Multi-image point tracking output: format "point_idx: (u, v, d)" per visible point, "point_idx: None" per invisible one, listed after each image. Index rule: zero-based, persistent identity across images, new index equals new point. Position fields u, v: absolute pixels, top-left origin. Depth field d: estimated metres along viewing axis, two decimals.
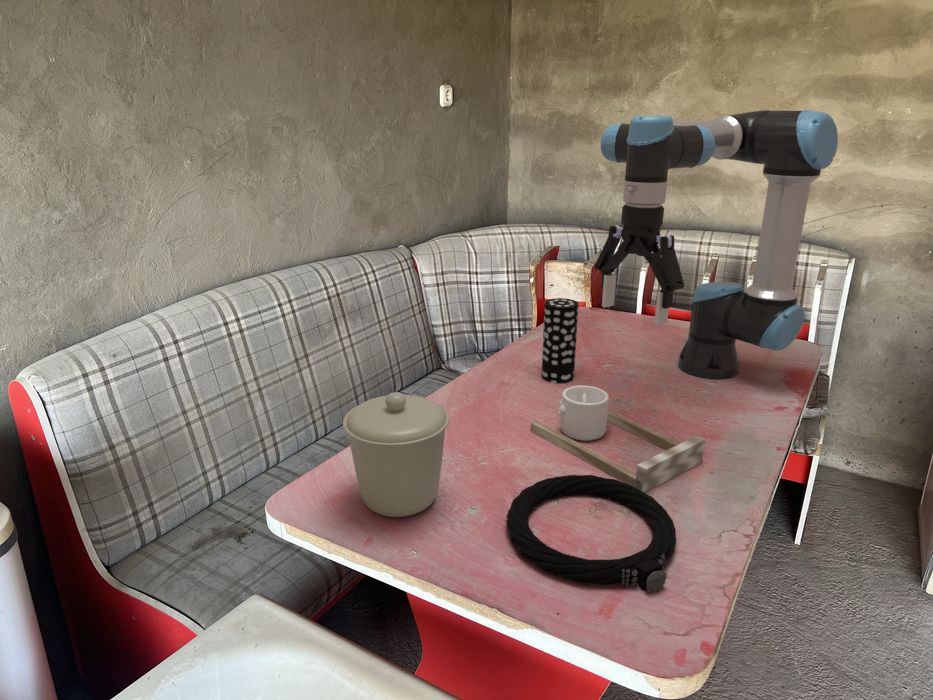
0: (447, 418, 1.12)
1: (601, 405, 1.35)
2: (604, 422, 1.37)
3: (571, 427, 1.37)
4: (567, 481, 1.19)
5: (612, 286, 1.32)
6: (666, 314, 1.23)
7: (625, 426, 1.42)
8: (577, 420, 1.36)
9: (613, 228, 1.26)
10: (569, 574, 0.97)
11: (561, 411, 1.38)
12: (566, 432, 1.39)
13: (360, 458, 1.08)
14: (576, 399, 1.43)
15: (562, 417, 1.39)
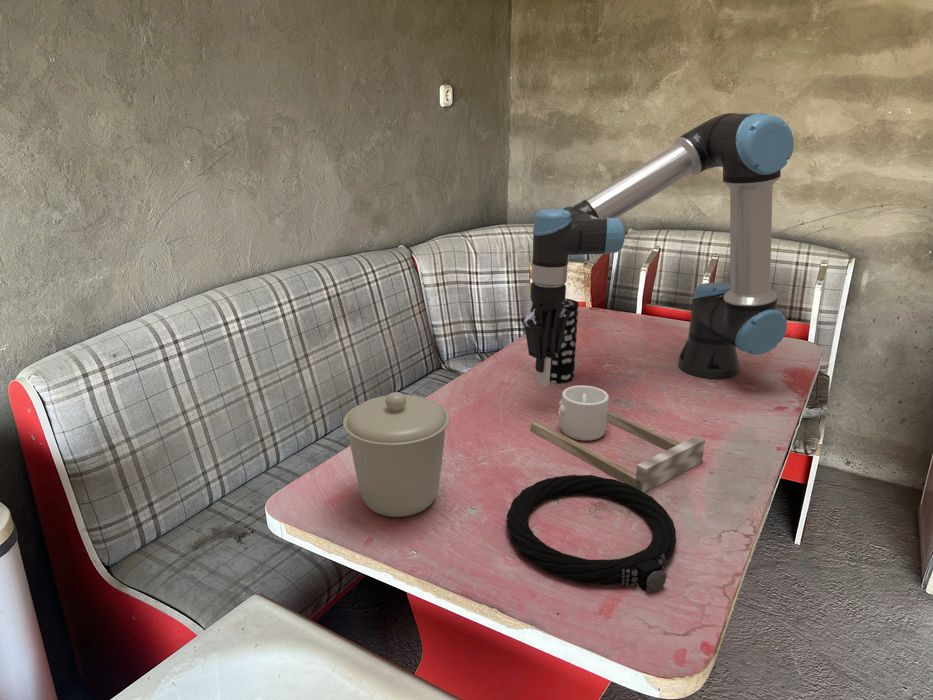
0: (447, 418, 1.12)
1: (601, 405, 1.35)
2: (604, 422, 1.37)
3: (571, 427, 1.37)
4: (567, 481, 1.19)
5: None
6: (543, 378, 1.48)
7: (625, 426, 1.42)
8: (577, 420, 1.36)
9: None
10: (569, 574, 0.97)
11: (561, 411, 1.38)
12: (566, 432, 1.39)
13: (360, 458, 1.08)
14: (576, 399, 1.43)
15: (562, 417, 1.39)
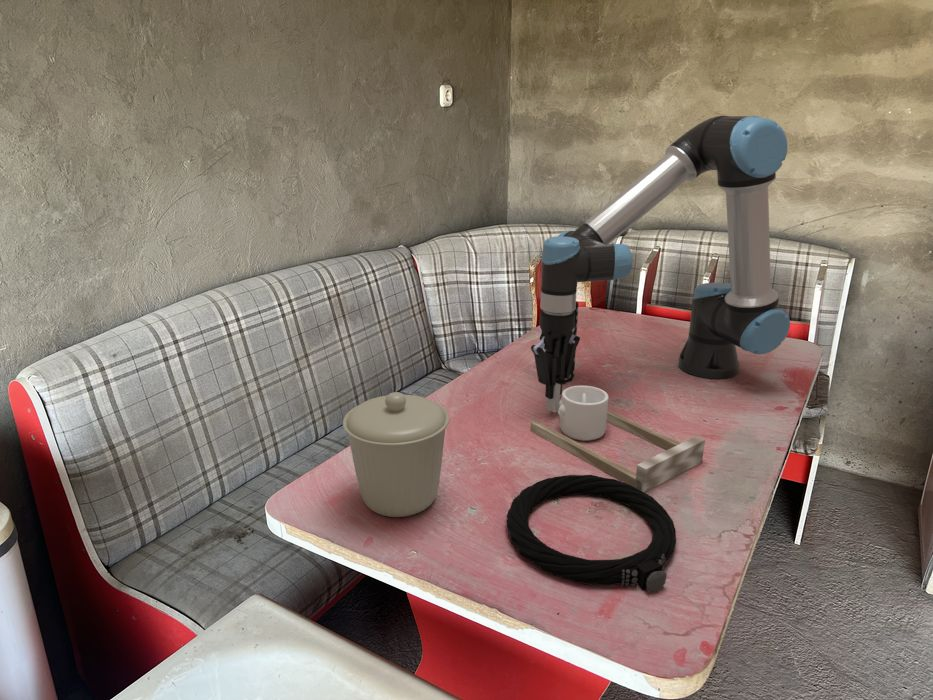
0: (447, 418, 1.12)
1: (601, 405, 1.35)
2: (604, 422, 1.37)
3: (571, 427, 1.37)
4: (567, 481, 1.19)
5: None
6: (553, 405, 1.47)
7: (625, 426, 1.42)
8: (577, 420, 1.36)
9: None
10: (569, 574, 0.97)
11: (561, 411, 1.38)
12: (566, 432, 1.39)
13: (360, 458, 1.08)
14: (576, 399, 1.43)
15: (562, 417, 1.39)
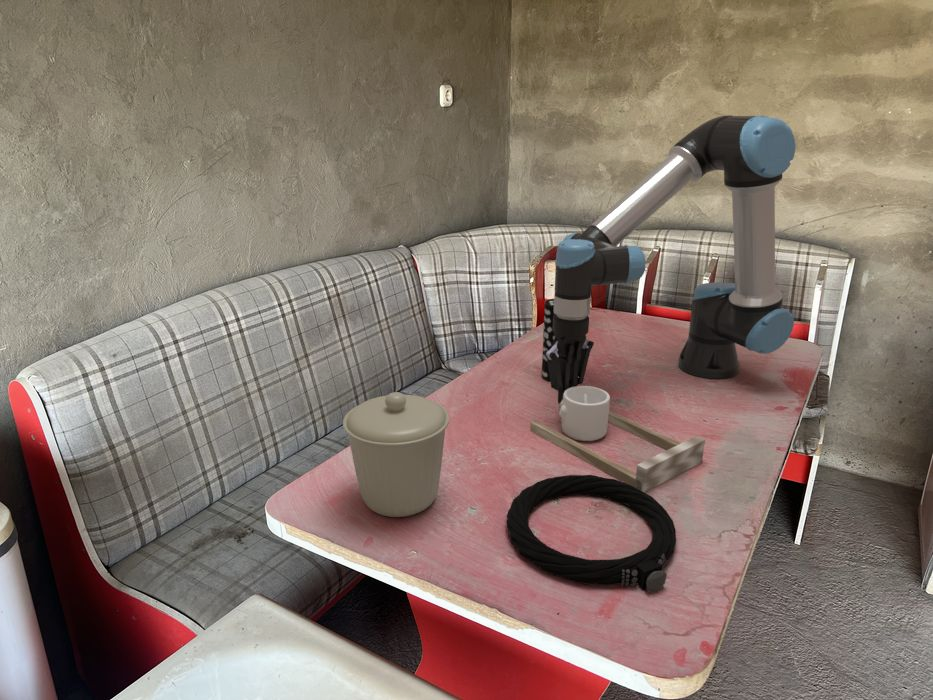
0: (447, 418, 1.12)
1: (602, 405, 1.35)
2: (605, 422, 1.37)
3: (572, 427, 1.37)
4: (567, 481, 1.19)
5: None
6: None
7: (625, 426, 1.42)
8: (578, 420, 1.35)
9: None
10: (569, 574, 0.97)
11: (562, 411, 1.38)
12: (567, 432, 1.38)
13: (360, 458, 1.08)
14: (577, 399, 1.43)
15: (563, 417, 1.39)
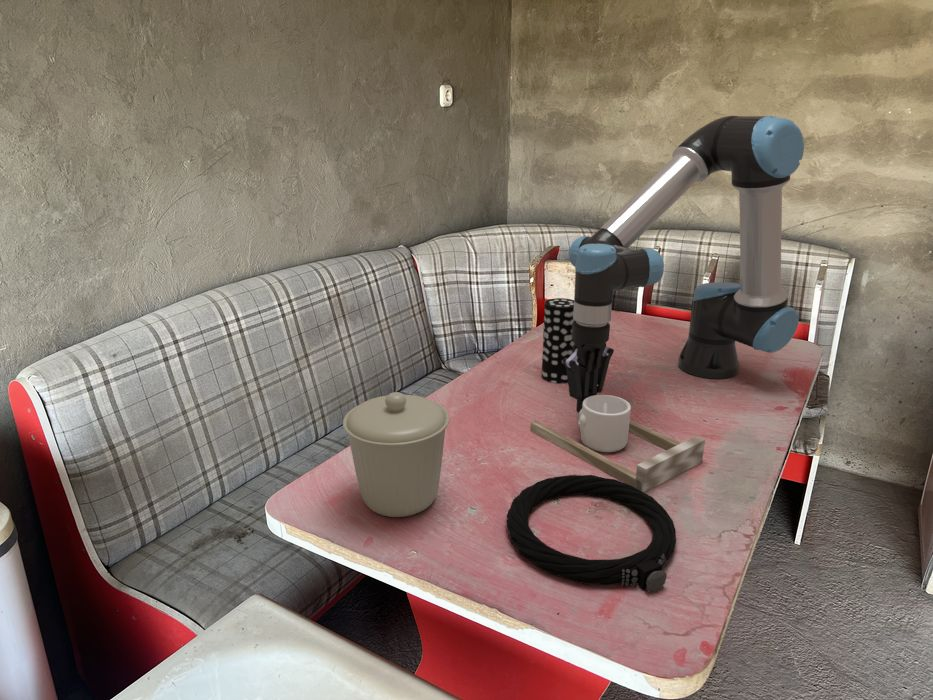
0: (447, 418, 1.12)
1: (623, 415, 1.30)
2: (626, 433, 1.33)
3: (592, 438, 1.33)
4: (567, 481, 1.19)
5: None
6: None
7: None
8: (598, 431, 1.31)
9: None
10: (569, 574, 0.97)
11: (581, 421, 1.34)
12: (586, 443, 1.34)
13: (360, 458, 1.08)
14: (596, 409, 1.39)
15: (582, 427, 1.35)
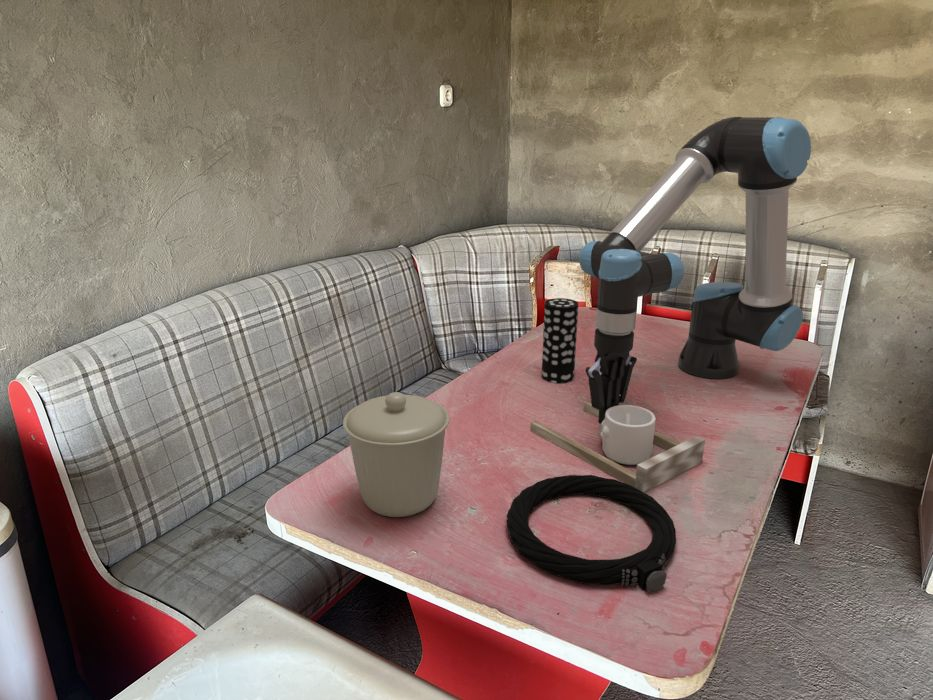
0: (447, 418, 1.12)
1: (648, 427, 1.26)
2: (650, 445, 1.28)
3: (615, 450, 1.28)
4: (567, 481, 1.19)
5: None
6: None
7: None
8: (622, 443, 1.27)
9: None
10: (569, 574, 0.97)
11: (604, 433, 1.29)
12: (609, 455, 1.29)
13: (360, 458, 1.08)
14: (619, 419, 1.34)
15: (605, 439, 1.30)
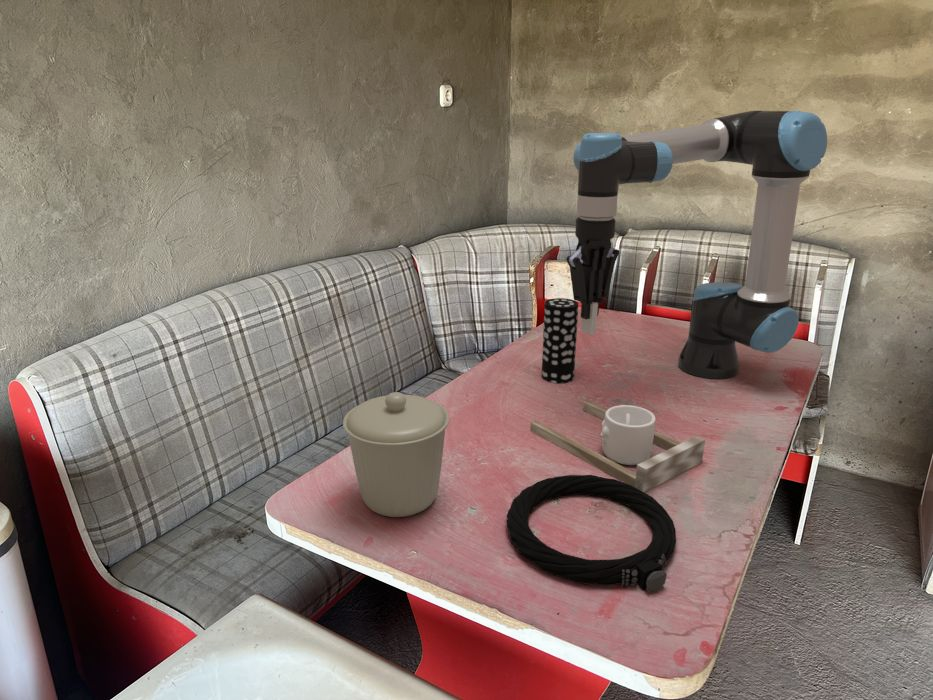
0: (447, 418, 1.12)
1: (648, 427, 1.26)
2: (650, 445, 1.28)
3: (615, 450, 1.28)
4: (567, 481, 1.19)
5: None
6: (589, 326, 1.33)
7: None
8: (622, 443, 1.27)
9: None
10: (569, 574, 0.97)
11: (604, 433, 1.29)
12: (609, 455, 1.30)
13: (360, 458, 1.08)
14: (619, 419, 1.34)
15: (605, 439, 1.30)
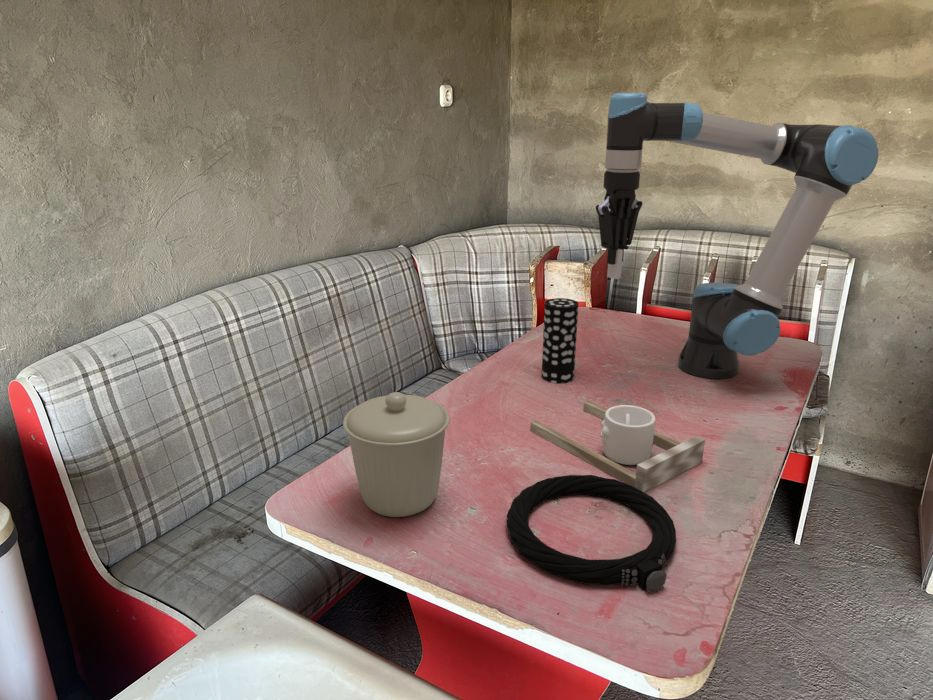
0: (447, 418, 1.12)
1: (648, 427, 1.26)
2: (650, 445, 1.28)
3: (615, 450, 1.28)
4: (567, 481, 1.19)
5: None
6: (615, 271, 1.47)
7: None
8: (622, 443, 1.27)
9: None
10: (569, 574, 0.97)
11: (604, 433, 1.29)
12: (609, 455, 1.30)
13: (360, 458, 1.08)
14: (619, 419, 1.34)
15: (605, 439, 1.30)
